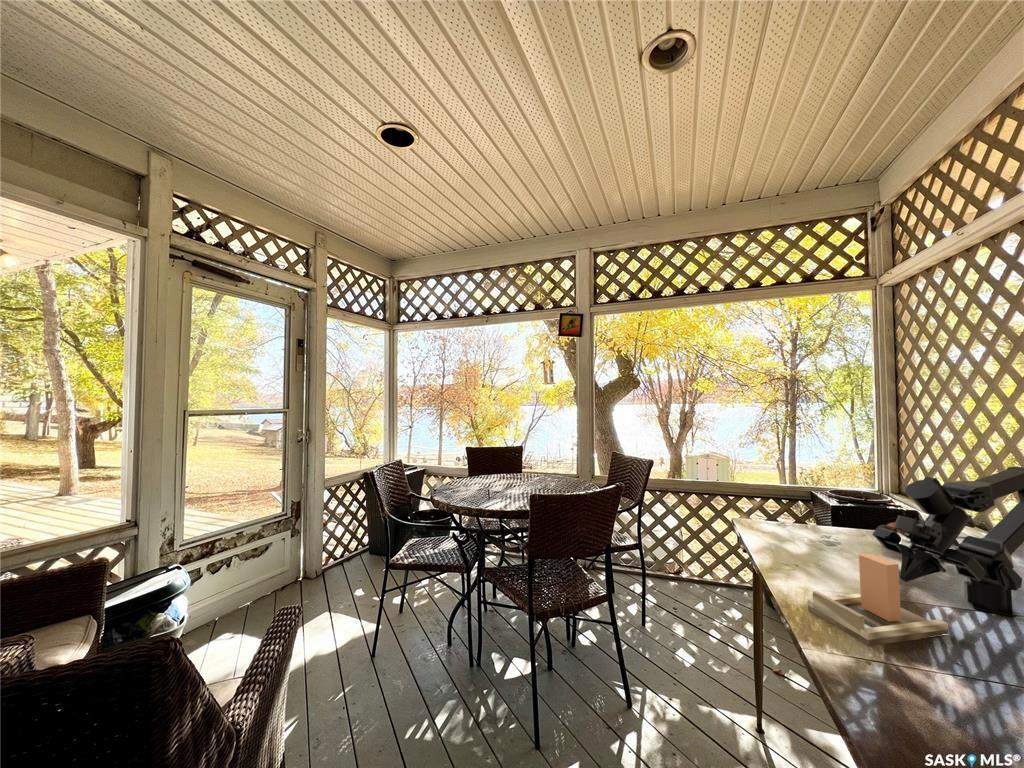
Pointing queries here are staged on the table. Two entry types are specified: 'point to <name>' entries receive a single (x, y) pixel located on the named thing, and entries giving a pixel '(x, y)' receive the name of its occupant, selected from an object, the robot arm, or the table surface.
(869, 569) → the tall block
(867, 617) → the open-ended rail tray
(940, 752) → the table surface
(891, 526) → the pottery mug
